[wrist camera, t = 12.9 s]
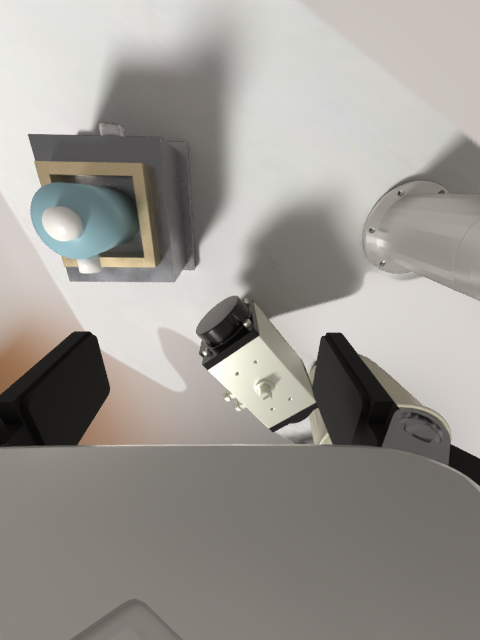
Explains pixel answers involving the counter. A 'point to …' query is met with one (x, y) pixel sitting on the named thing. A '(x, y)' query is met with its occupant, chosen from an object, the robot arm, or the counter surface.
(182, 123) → the counter surface
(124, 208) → the drain pump
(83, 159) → the grey box
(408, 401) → the canister
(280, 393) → the cream boxy piece
